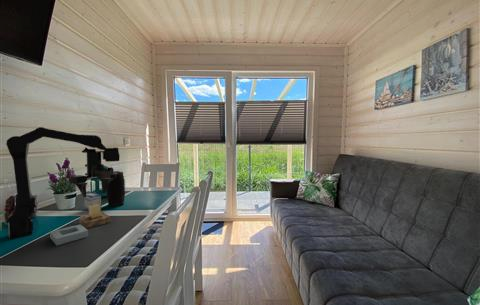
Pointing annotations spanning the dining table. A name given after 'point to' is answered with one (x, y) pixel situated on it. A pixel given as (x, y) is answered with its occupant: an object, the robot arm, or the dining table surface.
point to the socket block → (68, 234)
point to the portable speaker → (116, 190)
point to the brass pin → (94, 211)
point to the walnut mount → (94, 220)
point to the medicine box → (92, 200)
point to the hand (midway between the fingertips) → (94, 195)
